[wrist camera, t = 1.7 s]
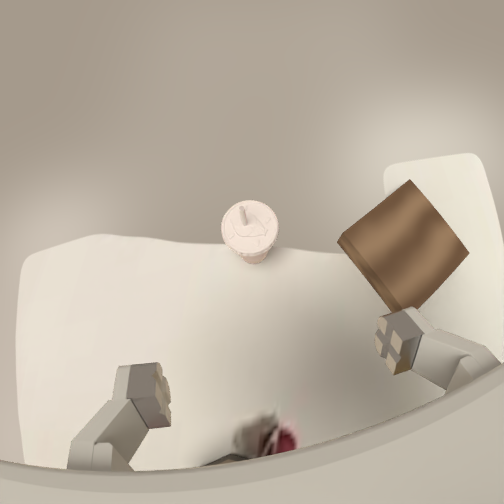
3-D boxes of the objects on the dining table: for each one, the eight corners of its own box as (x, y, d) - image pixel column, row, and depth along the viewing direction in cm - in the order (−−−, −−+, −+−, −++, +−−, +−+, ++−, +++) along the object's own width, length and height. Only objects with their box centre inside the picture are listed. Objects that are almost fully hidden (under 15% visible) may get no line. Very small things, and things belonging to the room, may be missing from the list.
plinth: (456, 260, 43) (469, 253, 39) (397, 319, 41) (409, 317, 37) (400, 191, 46) (409, 179, 43) (336, 242, 45) (342, 232, 41)
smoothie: (242, 222, 46) (231, 172, 33) (284, 239, 45) (290, 194, 32) (222, 262, 45) (203, 227, 31) (266, 281, 44) (264, 252, 30)
